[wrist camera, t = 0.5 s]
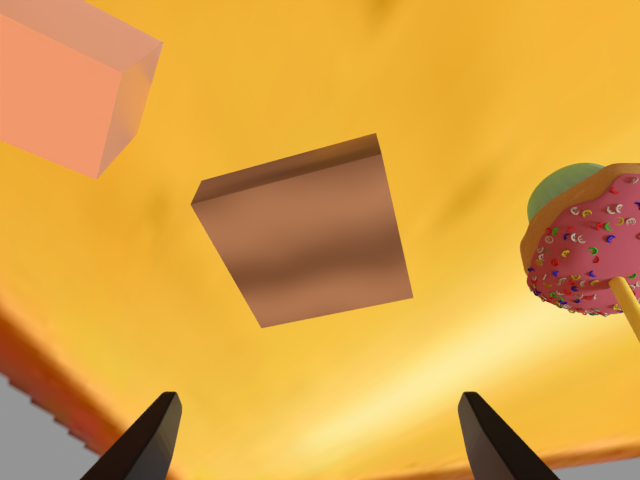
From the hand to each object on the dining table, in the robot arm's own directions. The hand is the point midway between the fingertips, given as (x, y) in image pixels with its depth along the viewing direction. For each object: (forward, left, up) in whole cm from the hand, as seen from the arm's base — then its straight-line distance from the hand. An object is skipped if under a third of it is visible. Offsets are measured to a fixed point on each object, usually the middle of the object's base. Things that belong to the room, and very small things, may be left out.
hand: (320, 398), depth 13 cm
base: (+3, -1, -13) cm, 13 cm away
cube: (-9, -8, -13) cm, 18 cm away
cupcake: (+5, +14, -13) cm, 20 cm away
